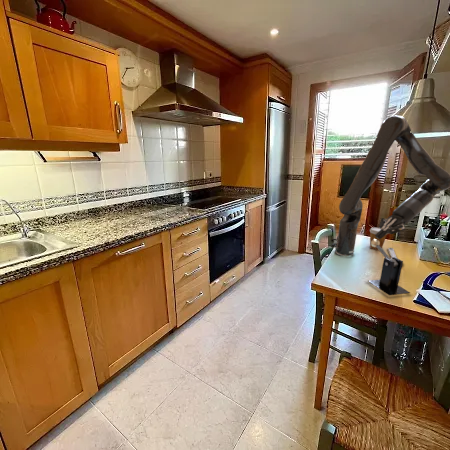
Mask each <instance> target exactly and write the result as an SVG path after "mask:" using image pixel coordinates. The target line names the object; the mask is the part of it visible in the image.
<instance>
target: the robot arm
mask: <svg viewBox="0 0 450 450" xmlns="http://www.w3.org/2000/svg"><path fill="white" fill-rule="evenodd" d="M411 128H412V127H410V124H409V122H408V120H407V118H405V117H404V116H402V115H391V116H389V117H387V118H386V119H384V120H383V122H382V123H381V125H380V127H379V130H378V132H377V134H376V138H375V139H374V141H373V144H372V146H371V148H369V151H368V152H367V154H366V156H365V158H364V160H363V161H362V163H361V165H360V167H359V169H358V171H357V173H356V175H355V177H354V178H353V181H352V183H351V184H350V186H349V188H348V189H347V191H346V193H345V194H344V196H343V198H341V200H340V202H339V205H338V209H339V212H340V213H341V214H342V215H343V217H341V219H339V226H338V232H337V233H338V234H337V236H336V238H332V239H331V242H332V241H335V242H336V243H335V242H333V243H331V246H332V247H334V248H335V249H334V252H335V254H336V255H338V256H340V257H342V256H348V257H349V256H354V254H355V247H356V239H357V234H358V233H357V231H358V226H359V223H360V222H361V218H362V214H363V209H364V208H363V201H362V200H361V197H362V196H363V194H364V193H365V192H366V191H367V190H368V189H369V187H371V186H372V185H373V184H374V182H375V181H376V180H377V179H378V177H379V175H380V174H381V171H382V170H383V168H384V166H385V163H386V160H387V157H388V153H389V151H390V149H391V148H392V146H393V144H394V143H395V142H396V143H397V144H398V145H399V146H400V148H401V149H402V150H403V152H404V154H405V157H406V159H407V160H408V162H409V163H410V165H411V166H412V168H413V169H414V171H416V173H417V174H418V175H420V176H425V177H426V178H427V180H426V181H425V182H424V183H423V184H422V185H421V186H419V188H418V190H417V191H415V192H414V193H413V194H411V196H410V197H409V198H406V200H404V201H403V202H402V203H401V204H400V205H399V206H397V207H395V209H394V210H393V211H392V214H391V215H390V216H388V217H387V218H384V217H381V219H380V222H379V226H378V228H380V229H381V230H380V231H379V232H378V233H377V234H376V235H375V236H376V237H377V238H378V239H381V238H383V237H384V236H385V235H386V234H387V235H389V234H390V235H394V234H397V233H400V232H403V231H405V230H406V228H405V225H406V224H408V223H410V222H411V221H412V220H413V219H414V218H416V217H417V216H418V215H419V214H420V213H421V212H422V211H423V210H424V209H425V208H426V207H427V206H428V205H429V204H430V203H432V201H433V200H434V197H435V196H437V194H439V193H441V192H443V191H446V190H448V189H450V173H449V172H448V171H447V170H445V169H444V168H442V166H440V165H438V163H436V161H435V160H434V158H433V157H432V156H431V155H430V154H429V152H428V151H427V150H426V149H425V148H424V147H423V145H422V144H421V143H420V141H419V140H418V138H417V137H416V136H415V134H414V133H413V134H412V133H410V131H411V130H412V129H411ZM387 235H386V236H387Z"/></svg>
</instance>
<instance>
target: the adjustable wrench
mask: <svg viewBox="0 0 450 450" xmlns="http://www.w3.org/2000/svg"><path fill="white" fill-rule="evenodd" d="M387 252H388V254H389V257H390V258H391V259H392V257H395V258H397V259H399V258H398V257H397V255H396V252H395V249H394V248H393V247H388V248H387ZM403 264H404V263H403ZM403 264H402V266H403Z"/></svg>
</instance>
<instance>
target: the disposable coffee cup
mask: <svg viewBox="0 0 450 450" xmlns="http://www.w3.org/2000/svg"><path fill="white" fill-rule="evenodd" d="M380 230H381V229H380V227H371V228H370V229H369V232H370V233H369V248H370V249H373V250H377V251H379V250H378V249H377V247H373V246H372V245H371V241H372V240H373V239H377V240H378V241H379V242H380V245H379V246H380V247H381V248H382V249H383V246H384V243H385V241H386V238H387V235H388V234H386V235H385V236H384V237H383V238H381V239H378V238H377V237H376V236H375V235H376V234H377V233H378V232H379V231H380Z"/></svg>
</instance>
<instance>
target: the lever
mask: <svg viewBox="0 0 450 450" xmlns="http://www.w3.org/2000/svg"><path fill="white" fill-rule="evenodd" d="M371 245H372V246H373V247H377V249H378V250H377V251H379V252H380V253H381V254H382V256H383V258H388V259H390V260H392V261H394V262H395V263H394V268H396V267H397V265H398V263H397V262H396V260H395V259H391V256H390V255H388V253H387V252H386V251H385V250H384V249H383V247H382V248H381V247H380V246H379V245H380V242H379V241H378V240H377V239H373V240H372V241H371Z"/></svg>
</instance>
